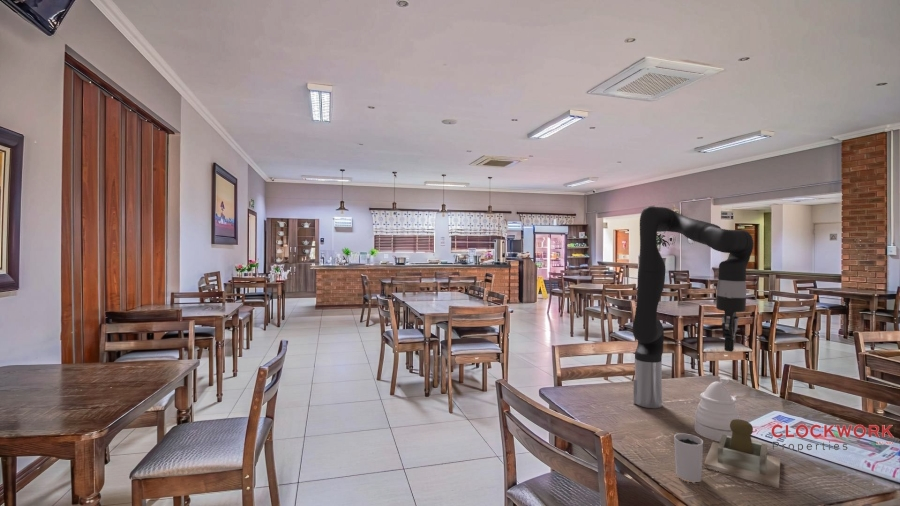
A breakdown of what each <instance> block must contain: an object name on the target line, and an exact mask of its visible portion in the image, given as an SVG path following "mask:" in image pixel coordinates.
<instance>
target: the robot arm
mask: <svg viewBox="0 0 900 506" xmlns="http://www.w3.org/2000/svg"><path fill="white" fill-rule="evenodd" d="M657 232H659V233H662V232H668V233H669V232H670V233H678V234H681V235H683V236H684V237H685V238H687V239H689V240H691V241H693V242H696V243H699V244H702V245H705V246H707V247H709V248H711V249H713V250H714V251H717V252H720V253H723V254H724V253H725V254H728V256H727V259H725V260H723V261H721V262H719V265H718V275H717V278H718V280H717V284H716V285H717V286H716V306H715V307H716V309H717V310H719V311H724V313H723V316H721V328H722V337H723V340H724V351H725V352H730V353H733V352H734V349H735V347H734V346H735V340H736V339H735V338H736V335H737V331H738V325H739V324H738V323H739V322H740V321H739V320H740V319H739V318H740V317H739V316H737V313H743V312H746V310H747V309H746V308H747V267H748V265H749V261H750V259H751V255H752V252H753V248H754V240H753V237H752V235H751V233H750V232H748V231H746V230H743V229H741V230H740V229H725V228H721V227H720V226H719V225H717V224H715V223H710V222H707V221H704V220H703V221H702V220H699V219H696V218H695V219H694V218H690V217H687V216H685V215H684V214H683V215H682V214H681V213H679V212H676V211H675V210H672V209H671V208H668V207H664V206H662V207H661V206H652V205H651V206H646V207H645V208H643V210H641V213H640V217H639V258H638V259H639V262H638V270H637V287H636V307H635V312H634V317H633V322H632V335H633V336H634V339H635V340H636V341H637V346H636V349H635V351H634V373H635V374H634V378H633V383H632V384H633V404H635V405H637V406H640V407H643V408H646V409H660V408H662V406H663V404H662V403H663V389H662V388H663V383H662V381H663V380H662V378H663V377H662V375H663V374H662V373H663V372H662V371H663V370H662V364H663V363H662V357H663V354H664V342H665V341H664V338H665V337H664V336H665V335H664V334H665V333H664V326H663V324H662V322H661V321H660V320H659V319H658V317H657V316H658V307H659V302H660V300H661V297H662V294H663V291H664V287H665V282H666V281H665V280H666V263H665V261H664V259H663V256H662V255H661V253H660V251H659V248H658V244H657V243H658V242H657V240H658V239H657V237H658V235H657V234H658V233H657Z"/></svg>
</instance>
